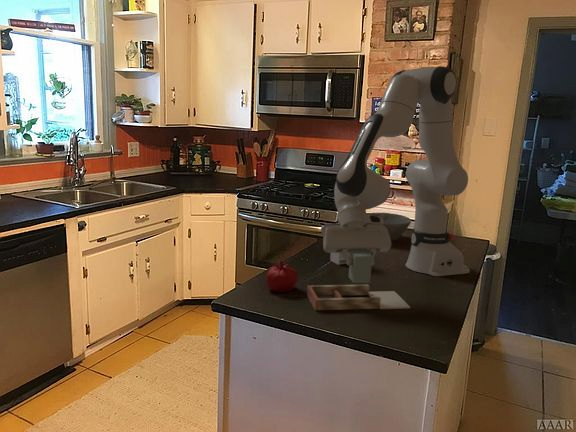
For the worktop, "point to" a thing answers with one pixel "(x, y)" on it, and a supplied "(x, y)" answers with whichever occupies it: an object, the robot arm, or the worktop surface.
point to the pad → (390, 300)
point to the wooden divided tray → (346, 302)
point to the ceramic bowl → (394, 224)
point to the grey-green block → (360, 267)
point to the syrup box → (338, 258)
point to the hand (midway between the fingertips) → (360, 264)
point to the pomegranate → (281, 278)
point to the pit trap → (319, 296)
